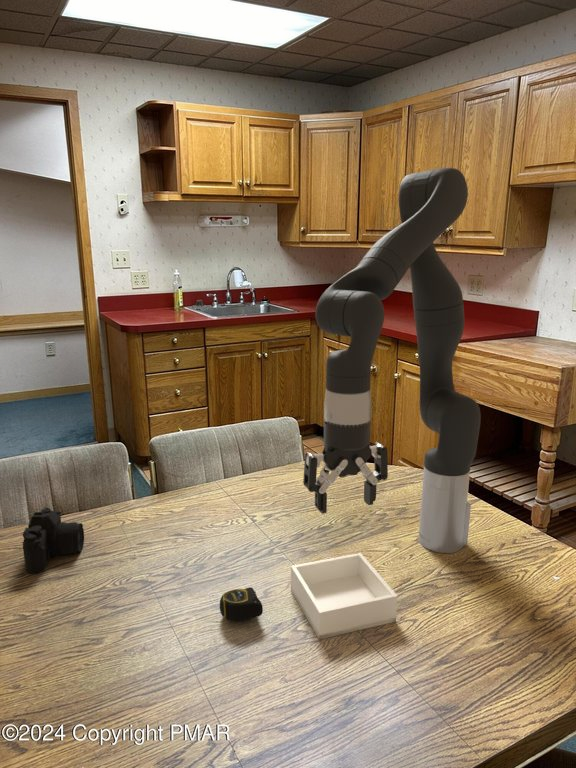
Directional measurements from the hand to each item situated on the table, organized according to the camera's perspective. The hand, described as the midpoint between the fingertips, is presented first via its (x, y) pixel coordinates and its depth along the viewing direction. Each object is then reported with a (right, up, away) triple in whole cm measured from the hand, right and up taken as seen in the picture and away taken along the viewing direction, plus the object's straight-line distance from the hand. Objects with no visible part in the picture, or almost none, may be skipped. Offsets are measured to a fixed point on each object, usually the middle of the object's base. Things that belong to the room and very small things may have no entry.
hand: (345, 507), depth 96 cm
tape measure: (-15, -19, +1) cm, 24 cm away
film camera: (-57, -14, +21) cm, 62 cm away
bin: (0, -18, +5) cm, 19 cm away
